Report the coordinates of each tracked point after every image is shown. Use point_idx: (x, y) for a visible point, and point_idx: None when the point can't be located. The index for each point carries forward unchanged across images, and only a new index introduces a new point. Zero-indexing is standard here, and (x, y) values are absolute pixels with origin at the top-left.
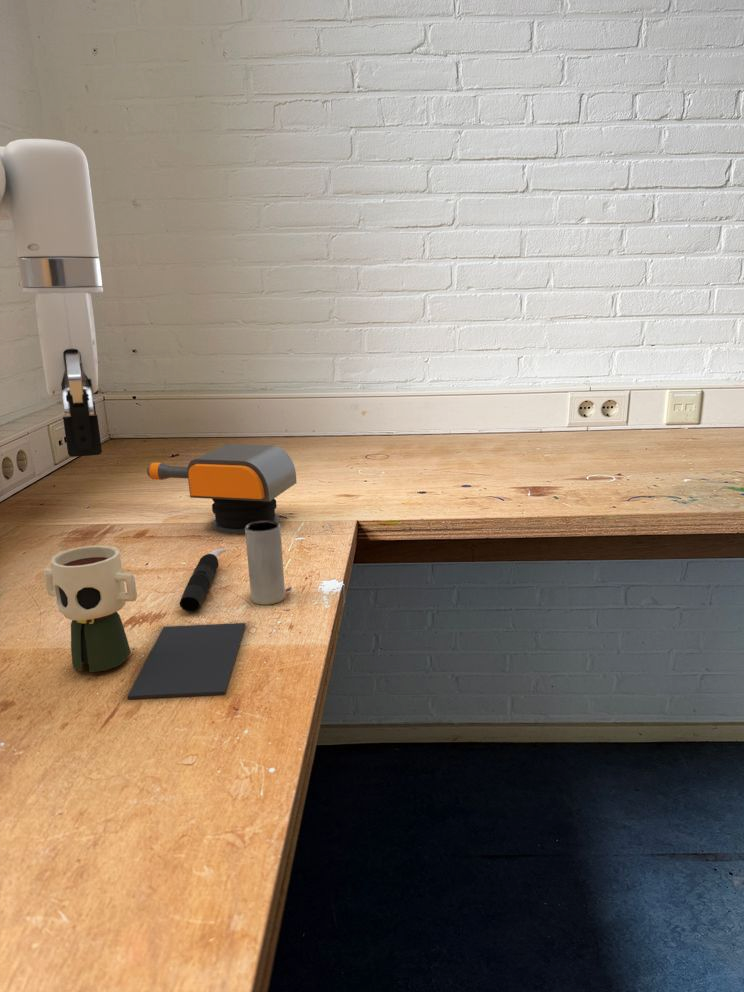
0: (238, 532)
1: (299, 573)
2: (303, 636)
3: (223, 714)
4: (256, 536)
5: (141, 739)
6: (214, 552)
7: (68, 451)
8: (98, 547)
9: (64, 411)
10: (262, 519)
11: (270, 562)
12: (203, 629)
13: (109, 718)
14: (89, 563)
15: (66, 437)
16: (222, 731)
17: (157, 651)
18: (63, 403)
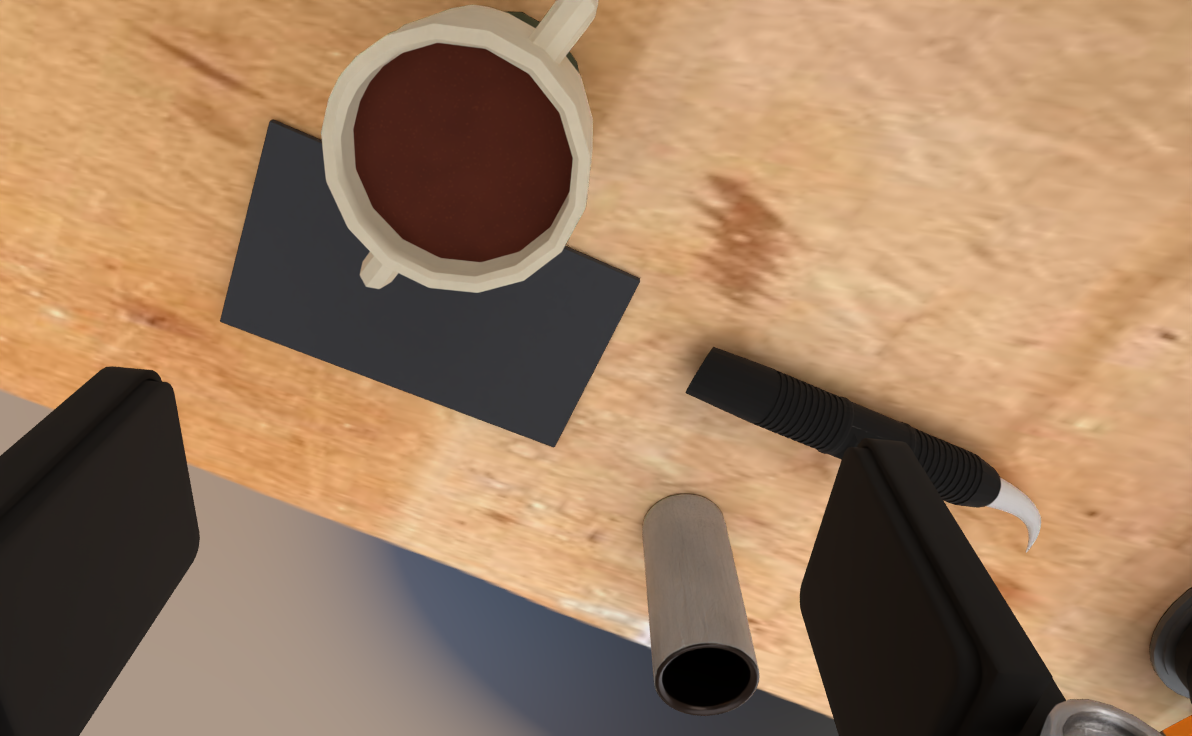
0: (1189, 596)
1: (791, 619)
2: (439, 521)
3: (138, 293)
4: (665, 643)
5: (72, 113)
6: (1013, 511)
7: (92, 382)
8: (553, 229)
9: (959, 601)
10: (1184, 671)
11: (648, 604)
12: (566, 360)
13: (191, 60)
14: (499, 170)
15: (21, 448)
16: (67, 273)
17: None
18: (1018, 674)
